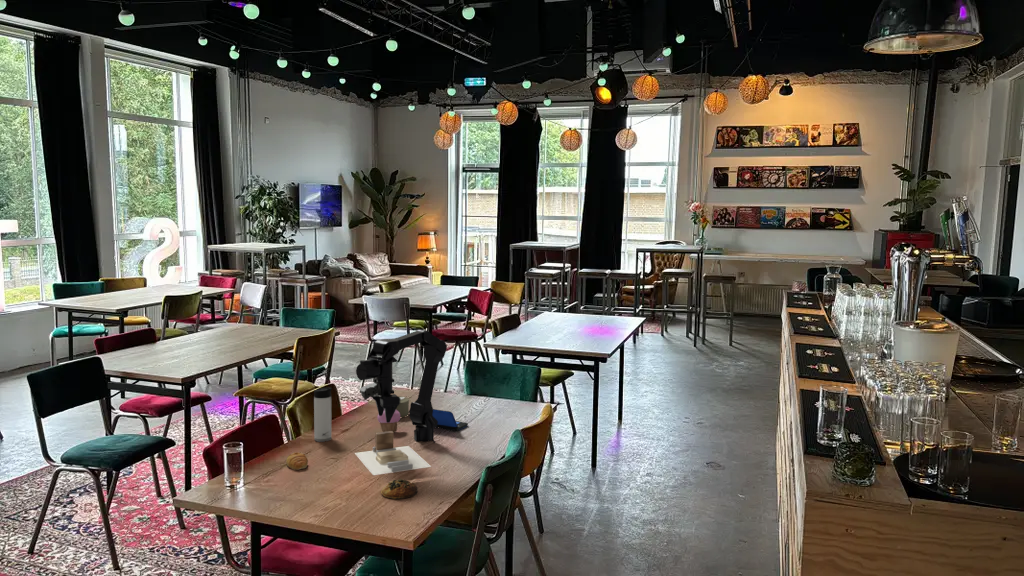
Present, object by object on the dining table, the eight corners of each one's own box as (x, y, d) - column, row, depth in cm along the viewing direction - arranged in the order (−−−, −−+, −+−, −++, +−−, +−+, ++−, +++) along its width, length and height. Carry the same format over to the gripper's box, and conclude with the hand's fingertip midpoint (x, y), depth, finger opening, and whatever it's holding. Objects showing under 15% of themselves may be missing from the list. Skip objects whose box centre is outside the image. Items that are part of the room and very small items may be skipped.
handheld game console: (469, 426, 288) (469, 404, 287) (451, 435, 276) (452, 412, 275) (437, 421, 295) (437, 399, 294) (418, 429, 283) (418, 406, 282)
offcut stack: (403, 455, 247) (403, 448, 247) (408, 459, 243) (408, 453, 243) (375, 459, 243) (375, 452, 242) (379, 463, 238) (379, 457, 238)
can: (374, 415, 300) (374, 400, 300) (394, 410, 310) (394, 394, 310) (395, 420, 294) (395, 404, 293) (414, 414, 303) (414, 399, 303)
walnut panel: (391, 449, 253) (391, 430, 252) (393, 451, 251) (393, 432, 250) (375, 452, 250) (375, 432, 250) (376, 453, 248) (376, 434, 248)
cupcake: (402, 430, 280) (402, 405, 279) (397, 437, 271) (397, 411, 270) (381, 429, 281) (381, 404, 280) (374, 435, 272) (374, 410, 271)
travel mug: (327, 442, 263) (327, 390, 261) (311, 441, 264) (311, 389, 262) (335, 437, 269) (334, 386, 267) (319, 436, 270) (318, 385, 268)
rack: (408, 448, 258) (408, 441, 258) (431, 469, 237) (431, 462, 236) (354, 455, 249) (354, 448, 249) (373, 478, 228) (373, 470, 227)
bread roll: (420, 497, 212) (418, 481, 212) (383, 506, 209) (381, 490, 209) (415, 485, 223) (412, 470, 223) (380, 493, 220) (377, 478, 220)
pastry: (312, 469, 236) (311, 458, 235) (291, 472, 232) (291, 461, 232) (304, 460, 243) (304, 450, 243) (284, 464, 240) (284, 453, 239)
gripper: (355, 372, 253) (355, 414, 254) (368, 383, 236) (369, 428, 238) (385, 369, 258) (385, 411, 259) (400, 380, 241) (400, 425, 243)
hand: (384, 419), depth 250 cm, fingers open, 9 cm apart
